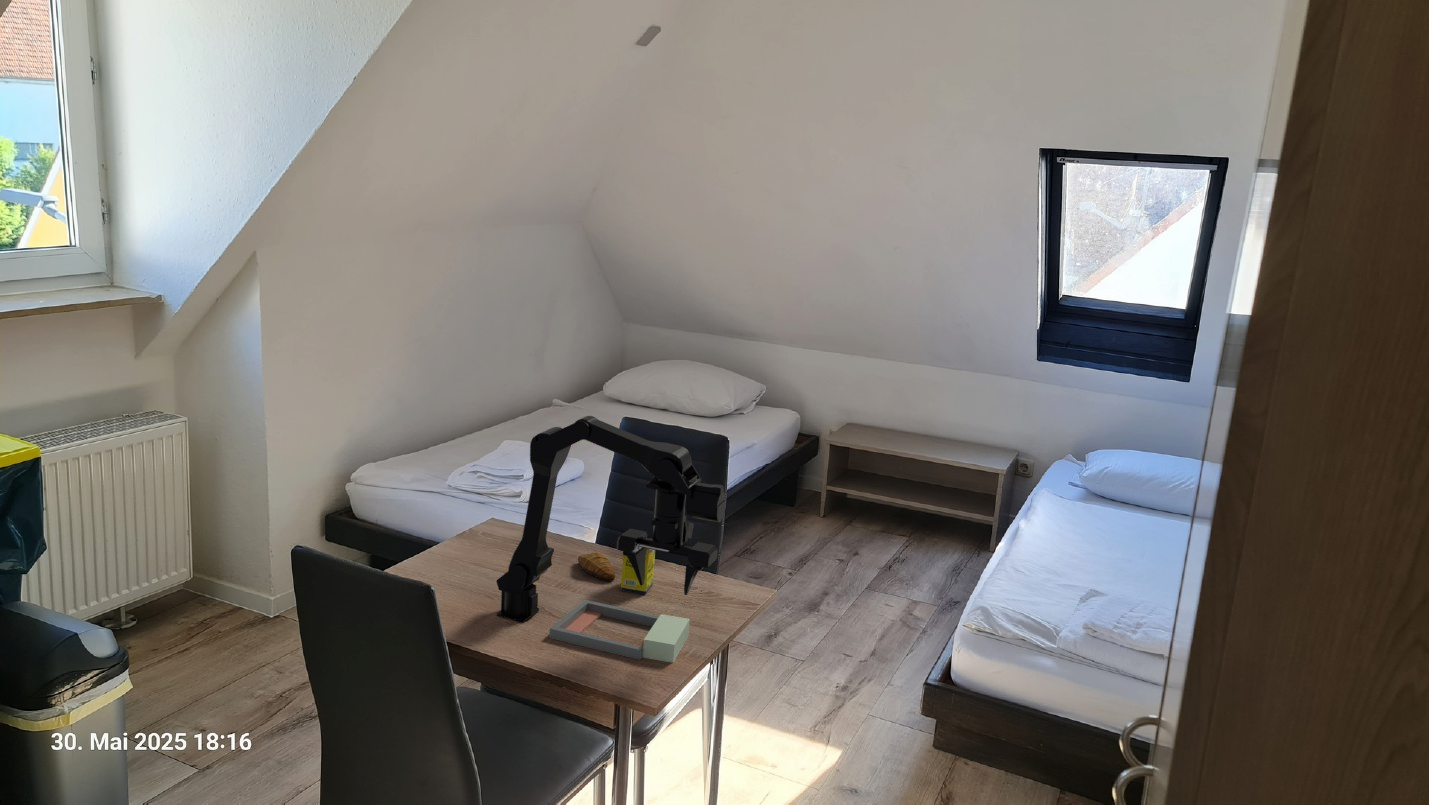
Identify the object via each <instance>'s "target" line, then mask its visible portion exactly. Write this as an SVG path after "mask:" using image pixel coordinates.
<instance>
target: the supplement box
mask: <svg viewBox="0 0 1429 805" xmlns="http://www.w3.org/2000/svg"><path fill="white" fill-rule="evenodd" d="M655 556H656V550H653V549H648V548H647V551H646V555H645V581H644V584H643V585H642V586H641V585H640V583H639V581H638V578H637V576H636V574H635V571H634V569H633V567H632V565H631V563H630V561H629V559H628V558H627V556H625V555H623V554H622V568H621V582H620V584H621V585H620V591H622V592H627V593H633V594H640V595H647V593H648V592H649V590H650V589H651V588H652V586H653V584H654V573H655V562H656V561H655V558H656V557H655Z"/></svg>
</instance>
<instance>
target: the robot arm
mask: <svg viewBox="0 0 1429 805" xmlns="http://www.w3.org/2000/svg"><path fill="white" fill-rule="evenodd" d="M583 440H584V441H587V442H590V443H591V444H594V445H596V446H599V447H601V448H603V449H606V450H608V451H611V452H613V453H616V454H617V455H621V456H623V457H624V458H627V459H628V460H629V459H630V460H631V461H635V463H638V464H640V465H641V466H642V467H643V468H644V469H645V470H646V471H647V472H648V473H649V474H651V475H652V476H653V478H652V479H651V480H650V481H649V482H647V483H646V484H645V486H644V487H645V488H646V489H650V490H655V499H654V500H655V502H654V515H653V518H652V519H651V524H650V525H652V526H653V530H652V538H648V533H647V532H646V531H645V530H641V529H640V530H639V529H634V528H629V529H627V530H626V531H625V532H623V533H622V534H620V535H619V536H618V538H617V541H616V550H617V551H621V552H622V556H623V555H625V556H627V558H628V559H629V561H630V563H631V565H632V567H633V569H634V571H635V574H636V576H637V578H638V581H639V583H640V585H641V586H642V585H643V584H644V581H645V555H646V551H647V548H648V549H653V550H655V551H658V552H663V553H668V554H672V555H679V556H683V557H687V562H688V564H687V565H685V574H684V586H683V587H684V588H683V592H684V596H687V595H688V594H689V593H690V590H691V588H692V585H693V583H694V581H695V579H696V577H697V575H698V573H699V572H700V571H702V570H703V569H706V568H709V567H710V566H712V564H713V563H714V562H715V561H716V560H717V559H718V548H717V546H716V545H715V544H711V543H705V542H701V541H698V542H696V543H695V544H694V545H693V546H688V545H684V544H683V543H686V542H688V540H692V537H693V530H694V527H695V526H694V525H695V524H694V523H692V522H687V515H689V517H690V518H693V519H699V520H704V521H705V520H706V521H711V522H714V523H715V522H716V523H721V522H722V521H723V518H724V516H725V514H726V513H725V512H726V508H727V499H726V493H725V492H724V488H725V487H724V485H723V484H722V485H721V484H712V483H711V484H709V483H703V482H702V477H701V475H699V472H698V471H697V469H696V467H695V466H694V464H693V463H692V462H693V460H692V456H691V454H690V451H689V450H688V449H687V448H685V446H682V445H678V444H674V443H669V442H661V441H652V440H648V439H645V438H643V437H641V436H638V435H636V434H634V433H631V432H628V431H626V430H624V429H621V428H619V427H616V426H614V425H612V424H609V423H606V422H605V421H603V420H599V419H598V418H597V417H595V416H593V415H585V416H583V417H582V418H579V419H577V420H576V421H575V422H573V423H572V424H569V425H568V426H565V427H563V428H562V427H561V426H553V427H550V428H548V429H546V430H544V431H542V432H540V433H538V434H536V435H535V436H533V437H532V439H531V440H530V445H529V461H530V465H531V469H532V470H533V474H532V482H531V486H530V492H529V497H528V504H527V508H526V509H527V510H526V514H525V519H524V524H523V526H524V527H523V531H522V536H521V540H520V541H519V543H518V545H517V547H516V548H515V550H514V552H513V554H512V556H511V559H510V562H509V564H508V569H507V570H508V571H507V572H504V574H502V575H501V576H500V577H499V578H497V579H496V580H495V581H496V586H497V589H498V590H499V591H501V594H500V595H501V597H500V598H501V600H500V610H498V611H497V612H496V616H497V617H501V618H504V619H505V618H506V619H509V620H513V621H516V622H517V621H518V622H526V621H527V620H529V619H530V618H532V617H533V616H535V614H537V613H538V612H540V608H539V607H538V602H539V593H538V592H537V584H534V583H536V582H537V581H539V580H540V578H541V576H542V575H544V574H545V573H546V572H547V571H548V569H550V568H551V566H553V563H552V557H553V554H554V551H555V547H554V548H553V547H549V546H548V543H547V534H548V530H549V529H548V528H549V524H550V522H549V521H550V516H551V513H552V506H553V501H554V500H553V499H554V497H555V496H554V495H555V490H556V486H557V481H558V480H557V479H558V475H559V472H560V471H561V469H562V468H563V466H564V464H565V463H566V460H567V458H568V456H569V453H570V450H571V447H572V445H574V444H576V443H579V442H580V441H583ZM683 476H684V477H685V478H684V477H683ZM685 512H686V514H687V515H685Z"/></svg>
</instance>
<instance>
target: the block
mask: <svg viewBox="0 0 1429 805" xmlns="http://www.w3.org/2000/svg"><path fill="white" fill-rule="evenodd" d="M658 616H659V618H658V619H657V621H656V622H655V624H654V625H653V627H651V628H650V630H649V631H648V633H647V634H646V636H645V637H644V638H643V646H642V647H643V657H642V658H643V659H650V660H656V661H661V662H666V663H675V660H676V659H677V657H678V655H679V653H680V652H681V650H682V648H683V646H684V645H685V643H686V641H687V639H688V637H689V634H690V633H689V631H690V622H691V621H690V620H691V619H690V618H685V617H680V616H673V615H668V614H662V613H661V614H660V615H658Z"/></svg>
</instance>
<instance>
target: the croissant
mask: <svg viewBox="0 0 1429 805" xmlns="http://www.w3.org/2000/svg"><path fill="white" fill-rule="evenodd" d="M577 562H578V564H579V566H580V568H581V569H583V571H584V572H585V573H586V574H588V575H591V576H593V577H596V578H597V579H599V580H600V579H601V580H603V581H608V582H612V581H614V580H615V578H616V575H615V570H614V568H613V566H612V564H611V562H610V559H609V558H608V557H607V556H606V555H604V554H602V553H599V552H596V551H595V552H591V553H583V554H581V555H579V556H578V558H577Z"/></svg>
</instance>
